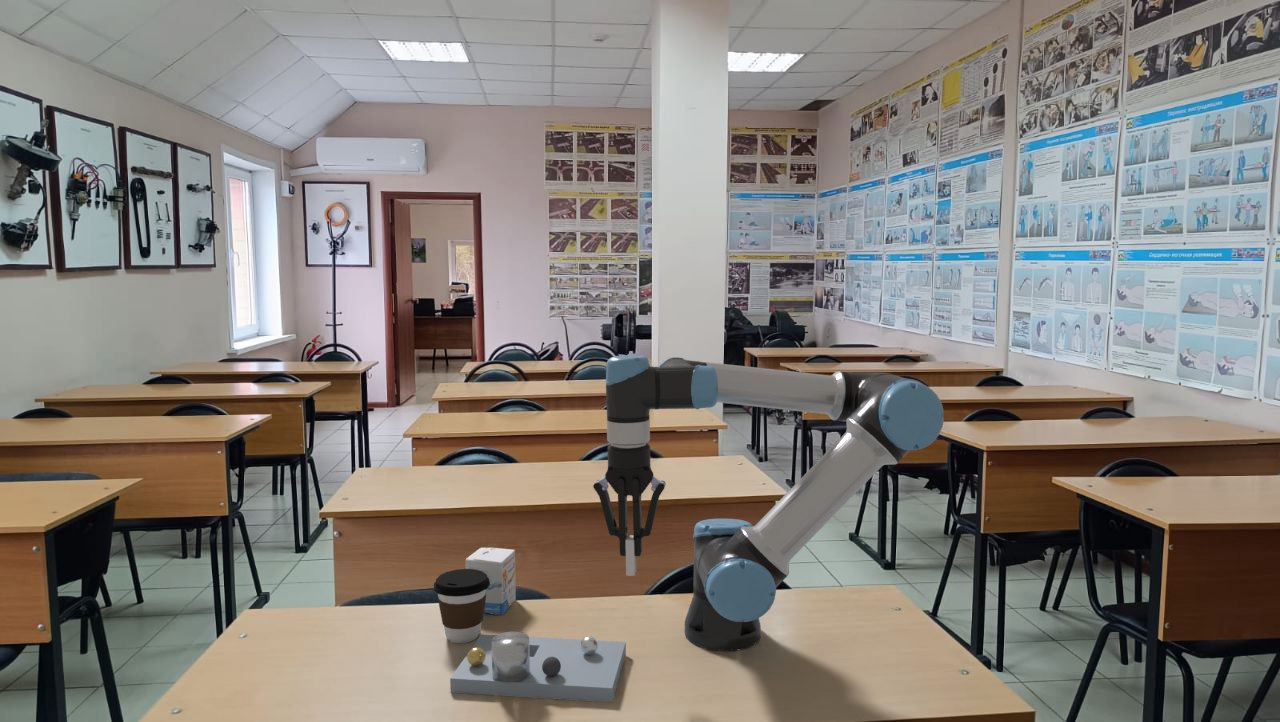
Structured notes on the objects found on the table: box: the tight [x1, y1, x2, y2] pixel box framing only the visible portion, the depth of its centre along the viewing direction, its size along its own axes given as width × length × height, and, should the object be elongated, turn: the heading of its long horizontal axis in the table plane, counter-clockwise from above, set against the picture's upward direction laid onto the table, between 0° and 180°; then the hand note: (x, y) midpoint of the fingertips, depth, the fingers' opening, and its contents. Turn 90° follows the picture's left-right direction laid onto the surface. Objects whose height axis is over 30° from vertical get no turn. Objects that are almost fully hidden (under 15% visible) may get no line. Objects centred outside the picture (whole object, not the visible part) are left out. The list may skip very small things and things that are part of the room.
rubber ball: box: [542, 657, 561, 677], centre depth 135 cm, size 3×3×3 cm
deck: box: [449, 633, 627, 703], centre depth 141 cm, size 28×17×2 cm, turn 83°
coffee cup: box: [433, 568, 490, 644], centre depth 155 cm, size 11×11×12 cm
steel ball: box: [580, 635, 598, 655], centre depth 143 cm, size 3×3×3 cm
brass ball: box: [466, 647, 486, 666], centre depth 138 cm, size 3×3×3 cm
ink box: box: [464, 547, 517, 615], centre depth 170 cm, size 9×8×12 cm
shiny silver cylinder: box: [492, 630, 530, 682], centre depth 135 cm, size 6×6×6 cm
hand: (631, 572), depth 140 cm, fingers closed
